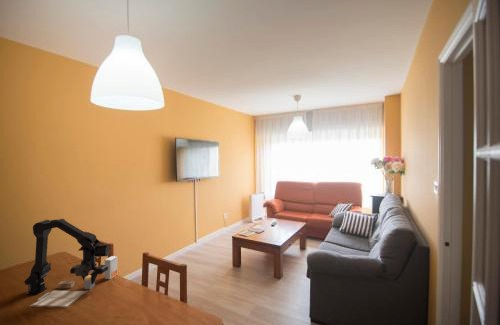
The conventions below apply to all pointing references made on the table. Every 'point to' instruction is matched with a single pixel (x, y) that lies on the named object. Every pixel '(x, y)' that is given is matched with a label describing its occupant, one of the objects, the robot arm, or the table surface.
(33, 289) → the robot arm
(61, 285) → the plain pale rectangular box
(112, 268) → the skincare box
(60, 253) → the table surface
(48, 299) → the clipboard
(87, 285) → the lidded cardboard box
